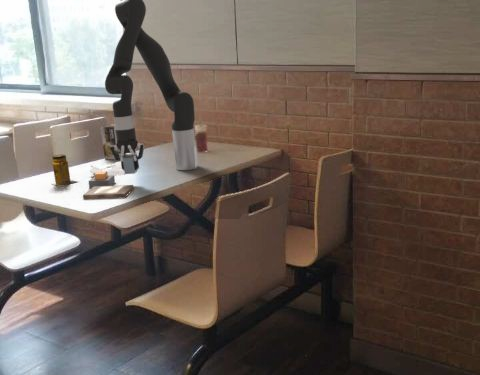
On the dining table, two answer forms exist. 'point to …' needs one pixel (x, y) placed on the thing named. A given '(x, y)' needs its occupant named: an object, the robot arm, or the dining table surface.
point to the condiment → (61, 171)
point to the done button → (101, 175)
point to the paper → (115, 169)
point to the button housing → (102, 181)
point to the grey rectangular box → (129, 164)
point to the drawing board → (108, 191)
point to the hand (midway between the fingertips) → (130, 169)
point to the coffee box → (109, 140)
